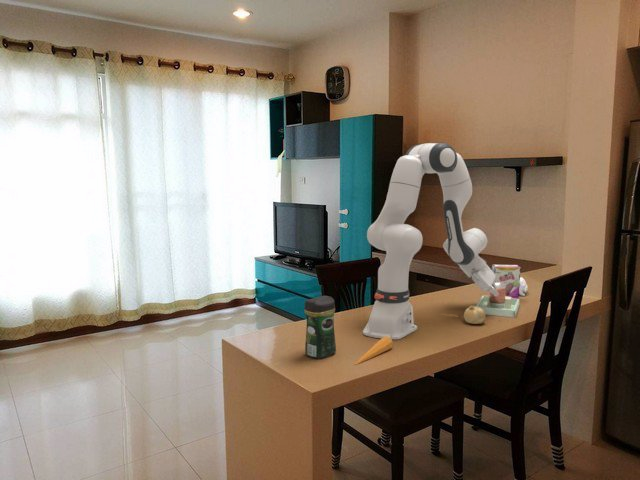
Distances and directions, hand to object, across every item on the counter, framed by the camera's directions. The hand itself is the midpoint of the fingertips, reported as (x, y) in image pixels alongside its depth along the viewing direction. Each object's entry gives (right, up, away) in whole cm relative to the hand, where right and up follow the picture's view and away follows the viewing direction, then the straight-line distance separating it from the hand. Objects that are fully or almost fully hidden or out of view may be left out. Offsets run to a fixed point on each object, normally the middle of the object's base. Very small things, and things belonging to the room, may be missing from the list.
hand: (498, 293), depth 200 cm
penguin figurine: (+22, -4, +34) cm, 41 cm away
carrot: (-56, -15, -43) cm, 72 cm away
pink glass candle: (0, -6, +1) cm, 6 cm away
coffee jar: (-72, -15, -42) cm, 85 cm away
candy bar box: (+9, -6, +19) cm, 22 cm away
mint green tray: (+1, -8, +5) cm, 10 cm away
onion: (-13, -11, -11) cm, 20 cm away
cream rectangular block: (+3, -7, +9) cm, 12 cm away
